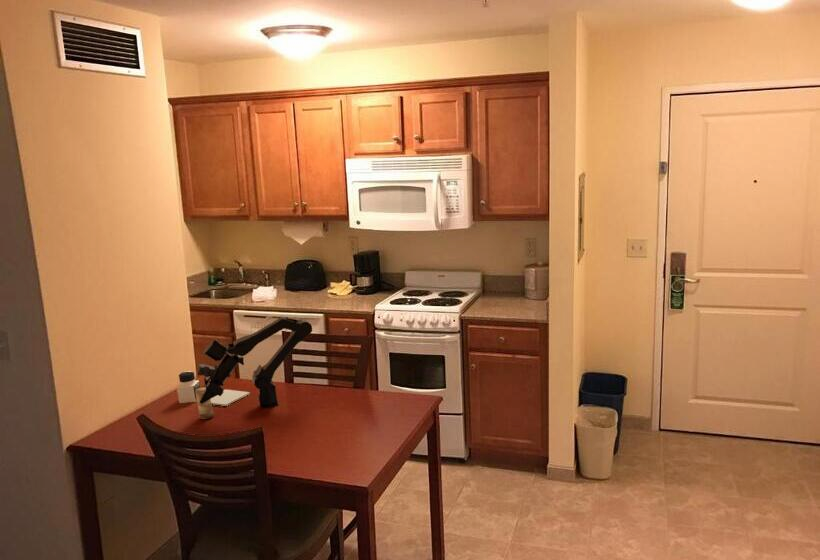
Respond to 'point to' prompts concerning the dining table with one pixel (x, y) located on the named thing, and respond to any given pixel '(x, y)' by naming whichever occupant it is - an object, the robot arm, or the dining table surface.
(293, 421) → the dining table surface
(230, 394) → the white square tile
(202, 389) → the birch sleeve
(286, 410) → the dining table surface
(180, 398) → the medicine bottle
